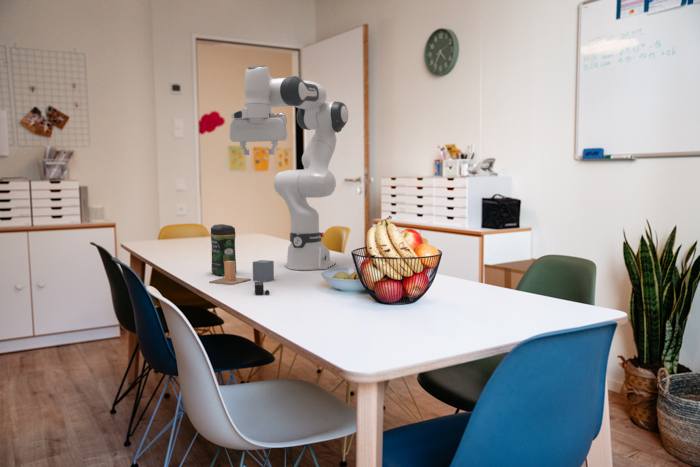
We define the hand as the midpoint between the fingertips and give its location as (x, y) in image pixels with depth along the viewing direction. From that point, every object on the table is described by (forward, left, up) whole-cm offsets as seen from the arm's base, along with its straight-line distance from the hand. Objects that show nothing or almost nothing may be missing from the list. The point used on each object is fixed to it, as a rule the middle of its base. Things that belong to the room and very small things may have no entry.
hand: (258, 154), depth 197 cm
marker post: (+7, -8, -43) cm, 45 cm away
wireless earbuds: (+19, +13, -44) cm, 50 cm away
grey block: (0, +1, -43) cm, 43 cm away
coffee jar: (-5, -20, -44) cm, 48 cm away
